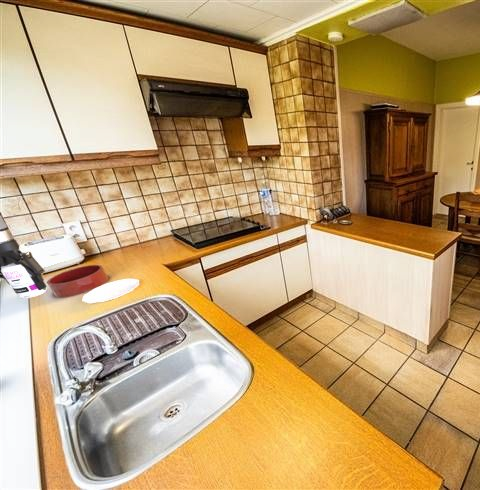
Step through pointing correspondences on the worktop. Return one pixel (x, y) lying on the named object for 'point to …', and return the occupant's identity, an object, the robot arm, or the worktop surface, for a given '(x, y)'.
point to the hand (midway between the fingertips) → (31, 289)
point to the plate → (110, 291)
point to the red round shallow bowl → (77, 280)
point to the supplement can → (21, 281)
